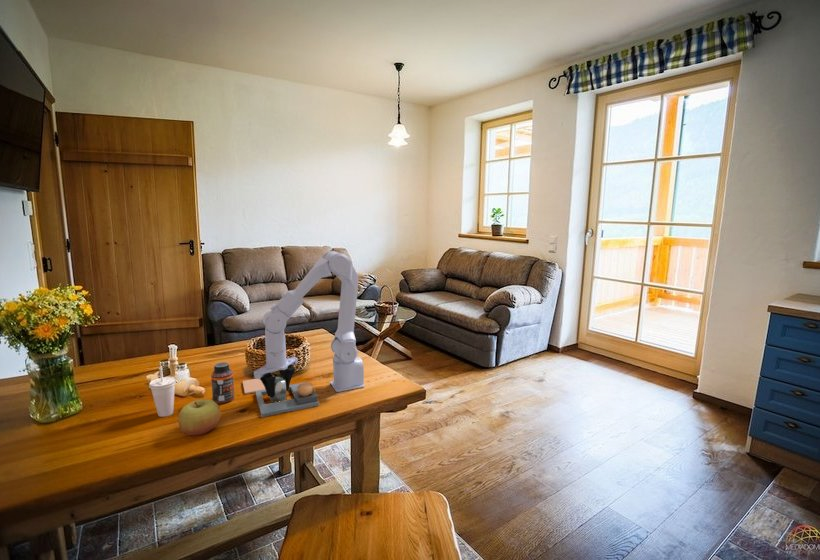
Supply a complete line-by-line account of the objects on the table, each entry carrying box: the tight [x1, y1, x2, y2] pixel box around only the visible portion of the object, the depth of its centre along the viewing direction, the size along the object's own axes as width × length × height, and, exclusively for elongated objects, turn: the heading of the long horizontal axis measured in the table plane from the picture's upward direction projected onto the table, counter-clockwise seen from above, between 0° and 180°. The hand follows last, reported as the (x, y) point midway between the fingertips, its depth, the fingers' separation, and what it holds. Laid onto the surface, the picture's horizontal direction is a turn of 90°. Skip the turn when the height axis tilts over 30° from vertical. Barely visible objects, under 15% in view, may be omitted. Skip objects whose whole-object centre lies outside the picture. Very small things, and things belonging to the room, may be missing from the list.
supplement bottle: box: [210, 362, 235, 405], centre depth 122 cm, size 6×6×11 cm
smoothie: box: [148, 366, 177, 418], centre depth 113 cm, size 6×6×14 cm
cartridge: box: [269, 376, 288, 403], centre depth 123 cm, size 5×5×7 cm
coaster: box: [242, 378, 265, 395], centre depth 133 cm, size 10×10×1 cm
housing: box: [254, 381, 320, 418], centre depth 123 cm, size 16×16×3 cm
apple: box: [177, 398, 221, 436], centre depth 105 cm, size 10×10×8 cm
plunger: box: [297, 382, 314, 397], centre depth 121 cm, size 4×4×4 cm
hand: (278, 393), depth 124 cm, fingers closed on cartridge, 5 cm apart
